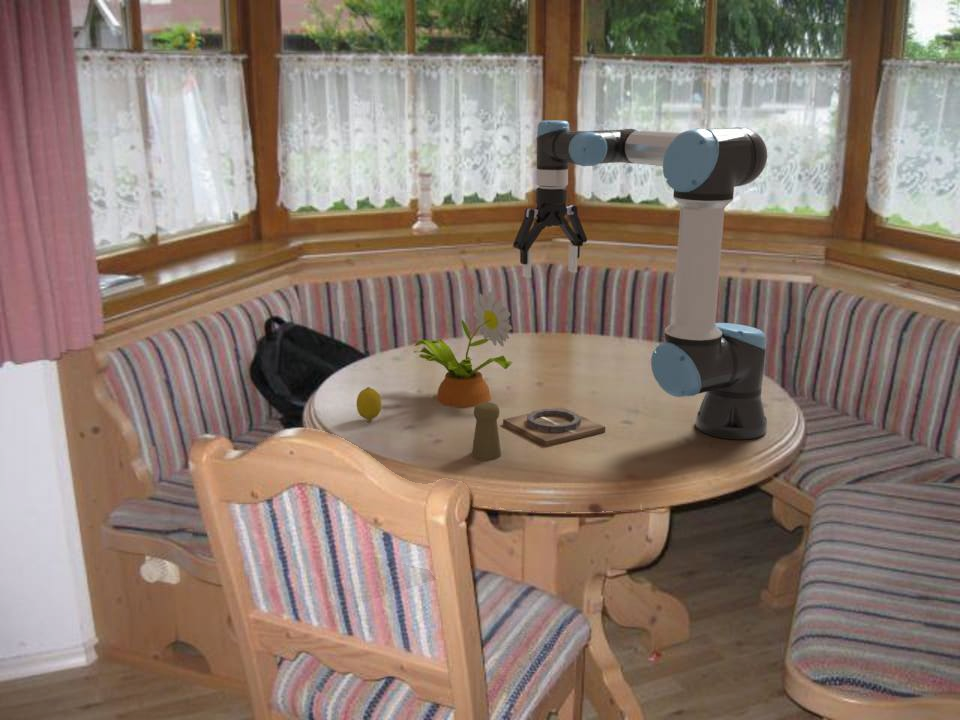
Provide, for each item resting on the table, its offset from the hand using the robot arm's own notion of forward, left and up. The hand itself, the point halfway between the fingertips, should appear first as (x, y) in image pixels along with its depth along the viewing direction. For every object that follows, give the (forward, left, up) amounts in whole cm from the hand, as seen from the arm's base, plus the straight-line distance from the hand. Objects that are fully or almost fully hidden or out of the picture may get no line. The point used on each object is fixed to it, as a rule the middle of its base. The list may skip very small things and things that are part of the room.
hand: (549, 274), depth 240 cm
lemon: (-1, +51, -28) cm, 58 cm away
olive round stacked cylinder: (-32, +40, -28) cm, 59 cm away
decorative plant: (+2, +26, -28) cm, 38 cm away
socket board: (-27, +19, -28) cm, 43 cm away
